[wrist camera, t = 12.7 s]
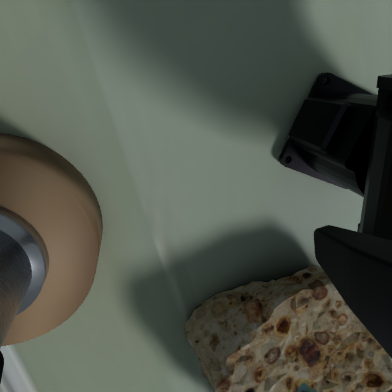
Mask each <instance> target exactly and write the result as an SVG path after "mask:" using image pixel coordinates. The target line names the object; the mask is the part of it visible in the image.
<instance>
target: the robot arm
mask: <svg viewBox="0 0 392 392" xmlns="http://www.w3.org/2000/svg"><path fill="white" fill-rule="evenodd" d="M325 77H326V79H327V81H326V83H325V84H323V79H324V78H325ZM377 88H379V90H378V95H373V94H371V93H369V92H367V91H365V90H363V89H361V88H359V87H357V86H355V85H353V84H351V83H349V82H347V81H345V80H343V79H341V78H339V77H337V76H335V75H333V74H331V73H321V74H320V75H319V76H318V77H317V79H316V81H315V83H314V85H313V87H312V89H311V92H310V94H309V96H308V98H307V99H305V100H304V102H303V104H302V106H301V109H300V111H299V113H298V115H297V117H296V119H295V121H294V123H293V126H292V128H291V130H290V132H289V138H288V140H287V142H286V144H285V147H284V149H283V151H282V153H281V155H280V158H279V162H280V163H281V164H282V165H283V166H285V167H288V168H290V169H293V170H296V171H299V172H301V173H304V174H307V175H309V176H312V177H315V178H318V179H320V180H323V181H326V182H328V183H331V184H334V185H337V186H339V187H342V188H345V189H349V190H351V191H353V192H355V193H357V194H359V195H361V196H363V197H364V199H363V207H362V214H361V221H360V223H359V224H358V230H357V232H356V231H351V230H347V229H343V228H339V227H335V226H331V225H327V226H324V227H321V228H318V229H316V230H315V231H314V245H315V256H316V259H317V261H318V263H319V265H320V266H321V267H322V269H323V270H324V272H325V273H326V275H327V276H328V278H329V279H330V281H331V282H332V284H333V285H334V287H335V288H336V290H337V291H338V293H339V294H340V295H341V297H342V298H343V300H344V301H345V303H346V304H347V305H348V307H349V308H350V309H351V311H352V312H353V313H354V314H355V316H356V317H357V318H358V319H359V320H360V322H361V323H362V324H363V325H364V326H365V328H366V329H367V330H368V331H369V332H370V333H371V335H372V336H373V337H374V338H375V339H376V341H377V342H378V343H379V344H380V345H381V346H382V348H383V349H384V350H385V351H386V352H387V354H388V355H389V356H390V357H391V358H392V74H391V75H382V76H378V80H377ZM288 156H289V160H288V161H287V162H285V159H286V157H288ZM3 367H4V358H3V355H2V353H1V351H0V383H1V377H2V372H3Z"/></svg>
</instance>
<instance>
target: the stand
mask: <svg viewBox="0 0 392 392" xmlns="http://www.w3.org/2000/svg"><path fill="white" fill-rule="evenodd" d="M0 206H2V207H4V208H7V209H9V210H11V211H13V212H15V213H16V214H18V215H20V216H21V217H23V218H24V219H25V220H27V221H28V222H29V223H30V224H31V225H32V226H33V227H34V228H35V229H36V230H37V231H38V232H39V234H40V235H41V237H42V238H43V240H44V242H45V245H46V247H47V250H48V254H49V270H48V274H47V277H46V280H45V282H44V284H43V287H42V289H41V292H40V293H39V295H38V297H37V298H36V299H35V301H34V302H33V303H32V304H31V305H30V306H29V307H28V308H27V309H26V310H24V311H23V312H21V313H20V314H18V315H16V316H15V318H14V320H13V322H12V324H11V327H10V329H9V331H8V333H7V335H6V337H5V339H4V341H3V343H2V345H1V346H6V345H11V344H16V343H21V342H24V341H27V340H30V339H33V338H36V337H38V336H40V335H43V334H45V333H47V332H49V331H50V330H52V329H54V328H56V327H57V326H59V325H60V324H62V323H63V322H64V321H66V320H67V319H68V318H69V317H70V316H71V315H72V314H73V313H74V312H75V311H76V310H77V309H78V308H79V307H80V305H81V304H82V303H83V301H84V300H85V298H86V296H87V295H88V293H89V291H90V288H91V286H92V284H93V280H94V276H95V272H96V267H97V261H98V256H99V250H100V245H101V239H102V229H103V225H102V215H101V210H100V206H99V203H98V201H97V198H96V196H95V194H94V192H93V190H92V188H91V186H90V185H89V183H88V182H87V181H86V179H85V178H84V177H83V175H82V174H81V173H80V172H79V171H78V170H77V169H76V168H75V167H74V166H73V165H72V164H71V163H69V162H68V161H67V160H66V159H65V158H63V157H62V156H60V155H59V154H57V153H56V152H54V151H53V150H51V149H49V148H47V147H45V146H43V145H41V144H39V143H37V142H34V141H31V140H28V139H26V138H22V137H18V136H14V135H10V134H3V133H0Z"/></svg>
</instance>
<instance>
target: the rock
mask: <svg viewBox="0 0 392 392" xmlns="http://www.w3.org/2000/svg"><path fill="white" fill-rule="evenodd" d="M184 327H185V335H186V338H187V341H188V342H189V343H190V344H191V346H192V348H193V350H194V352H195V353H196V355H197V356H198V358H199V360H200V365H201V368H202V373H203V376H204V377H206V378H207V379H208V381H209V383H210V385H211V387H212V389H213V392H392V360H391V358H390V356H389V355H388V354H387V352H386V351H385V350H384V349H383V348H382V346H381V345H380V344H379V343H378V342H377V341H376V339H375V338H374V337H373V336H372V335H371V333H370V332H369V331H368V330H367V329H366V328H365V326H364V325H363V324H362V323H361V322H360V320H359V319H358V318H357V317H356V316H355V314H354V313H353V312H352V311H351V309H350V308H349V307H348V305H347V304H346V303H345V301H344V300H343V298H342V297H341V295H340V294H339V293H338V291H337V290H336V288H335V287H334V285H333V284H332V282H331V281H330V279H329V278H328V276H327V275H326V273H325V272H324V270H323V269H322V268H321V267H319V266H315V265H311V266H310V267H308V268H307V269H304V270H301V271H298V272H297V273H295V274H294V275H293V276H290V277H283V278H280V279H278V280H276V281H274V280H271V281H269V282H260V281H252V282H251V283H249V284H248V285H243V286H240V287H237V288H235V289H233V290H229V291H224V292H220V293H217V294H215V295H214V296H212V297H211V298H209V299H207V300H205V301H203V302H202V304H201V306H200V307H198V308H197V309H195V310H194V312H193V313H192V315H191V317H190V318H189V320H188V321H186V322H185V325H184Z"/></svg>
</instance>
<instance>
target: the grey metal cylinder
mask: <svg viewBox="0 0 392 392" xmlns="http://www.w3.org/2000/svg"><path fill="white" fill-rule="evenodd" d="M48 270H49V254H48V250H47V247H46V245H45V242H44V240H43V238H42V237H41V235H40V234H39V232H38V231H37V230H36V229H35V228H34V227H33V226H32V225H31V224H30V223H29V222H28V221H27V220H25V219H24V218H23V217H21V216H20V215H18V214H16V213H15V212H13V211H11V210H9V209H7V208H4V207H2V206H0V348H1V345H2V343H3V341H4V339H5V337H6V335H7V333H8V331H9V329H10V327H11V324H12V322H13V320H14V318H15V316H16V315H18V314H20V313H21V312H23V311H24V310H26V309H27V308H28V307H29V306H30V305H31V304H32V303H33V302H34V301H35V299H36V298H37V297H38V295H39V293H40V292H41V289H42V287H43V284H44V282H45V280H46V277H47V274H48Z"/></svg>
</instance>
